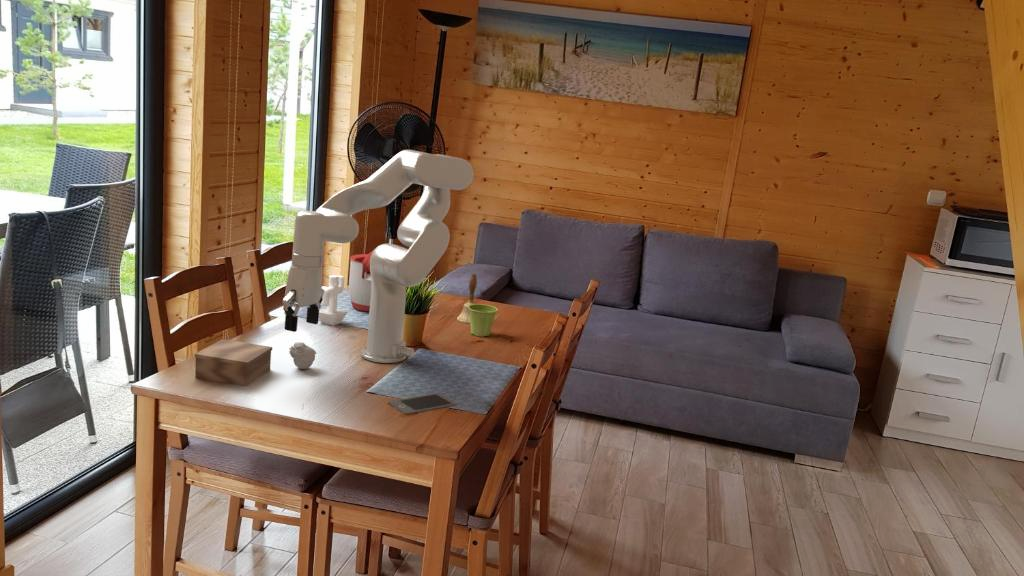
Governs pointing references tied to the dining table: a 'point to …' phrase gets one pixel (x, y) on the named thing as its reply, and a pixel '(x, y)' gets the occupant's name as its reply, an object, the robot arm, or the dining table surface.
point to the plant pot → (481, 319)
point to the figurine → (332, 302)
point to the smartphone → (421, 403)
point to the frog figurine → (302, 355)
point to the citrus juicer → (360, 281)
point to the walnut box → (233, 362)
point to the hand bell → (465, 313)
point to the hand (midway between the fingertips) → (301, 326)
